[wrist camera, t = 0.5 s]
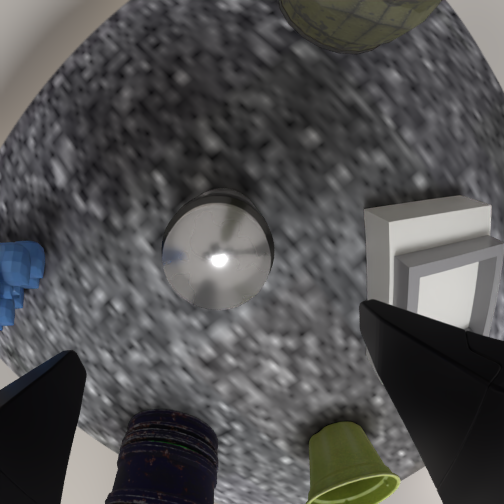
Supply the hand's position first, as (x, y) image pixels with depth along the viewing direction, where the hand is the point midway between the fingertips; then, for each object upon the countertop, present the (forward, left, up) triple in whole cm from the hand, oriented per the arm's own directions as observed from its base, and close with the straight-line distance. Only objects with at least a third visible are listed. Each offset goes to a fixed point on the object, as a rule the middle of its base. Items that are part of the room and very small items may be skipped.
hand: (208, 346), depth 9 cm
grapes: (+17, -1, -13) cm, 21 cm away
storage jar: (+10, +21, -13) cm, 26 cm away
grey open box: (-15, +7, -13) cm, 21 cm away
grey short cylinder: (0, 0, -13) cm, 13 cm away
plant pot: (-7, +25, -13) cm, 29 cm away
